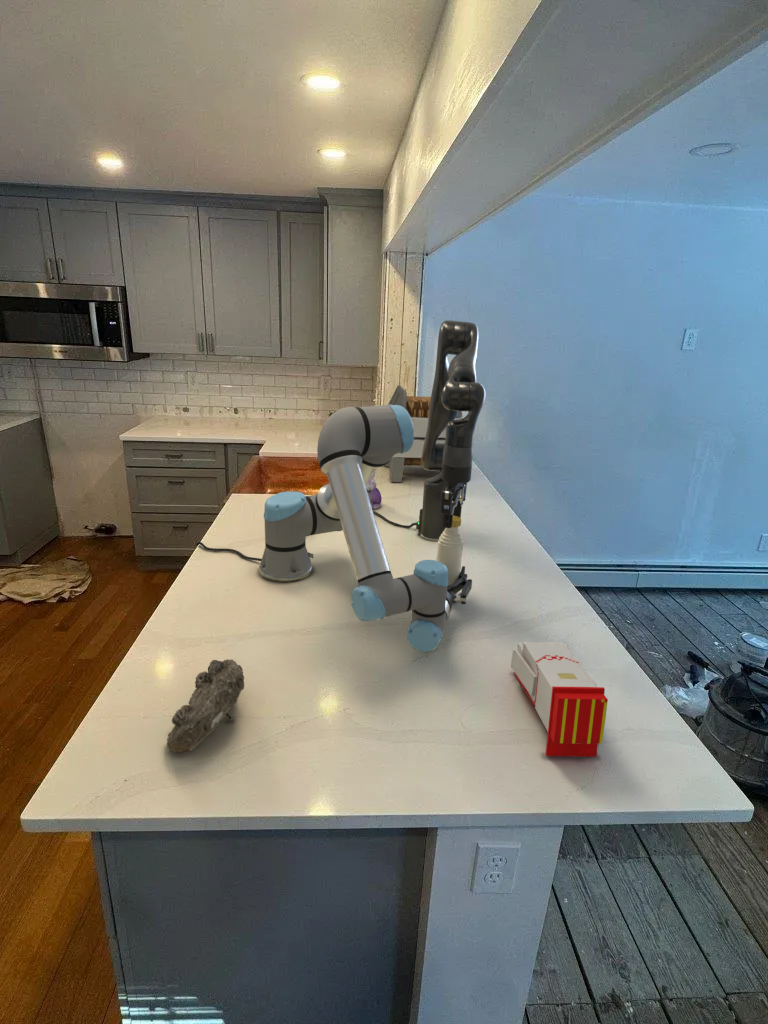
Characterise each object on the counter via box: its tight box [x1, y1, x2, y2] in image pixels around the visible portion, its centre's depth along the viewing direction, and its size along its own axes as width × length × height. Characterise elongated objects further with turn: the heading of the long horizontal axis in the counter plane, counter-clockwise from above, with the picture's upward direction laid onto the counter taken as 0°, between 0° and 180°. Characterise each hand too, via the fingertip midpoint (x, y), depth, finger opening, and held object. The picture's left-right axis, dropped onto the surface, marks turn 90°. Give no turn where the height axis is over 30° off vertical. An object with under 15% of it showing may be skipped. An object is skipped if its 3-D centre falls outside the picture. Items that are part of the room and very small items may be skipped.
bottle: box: [435, 527, 464, 596], centre depth 153 cm, size 7×7×23 cm
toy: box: [510, 641, 609, 758], centre depth 113 cm, size 12×13×30 cm
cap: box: [452, 515, 462, 528], centre depth 149 cm, size 4×4×2 cm
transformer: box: [384, 384, 463, 483], centre depth 268 cm, size 34×33×41 cm
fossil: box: [166, 658, 245, 754], centre depth 106 cm, size 22×10×15 cm
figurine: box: [365, 471, 383, 510], centre depth 223 cm, size 9×10×15 cm
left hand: (450, 568), depth 159 cm, fingers closed on bottle, 7 cm apart
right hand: (451, 522), depth 149 cm, fingers open, 7 cm apart
